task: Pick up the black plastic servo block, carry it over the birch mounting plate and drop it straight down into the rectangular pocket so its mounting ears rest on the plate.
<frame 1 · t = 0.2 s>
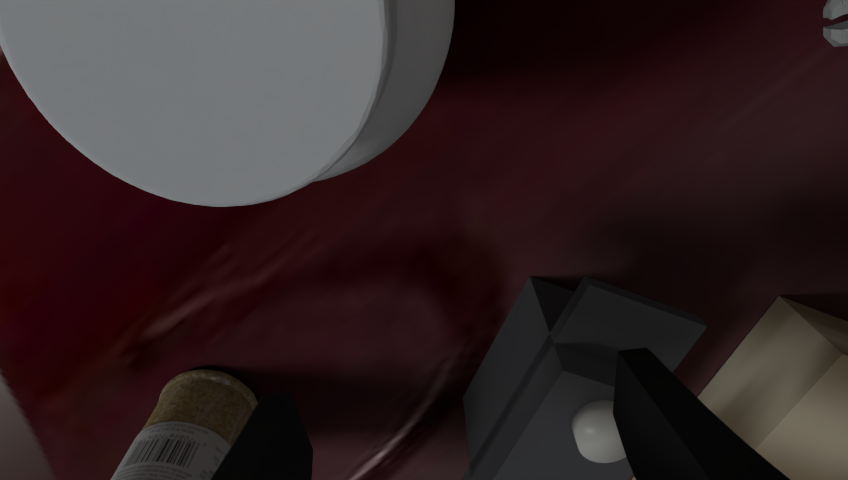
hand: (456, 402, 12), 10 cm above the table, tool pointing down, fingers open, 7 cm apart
sprinkles bottle: (215, 399, 26), on the table
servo: (539, 354, 25), on the table
mounting plate: (844, 454, 27), on the table
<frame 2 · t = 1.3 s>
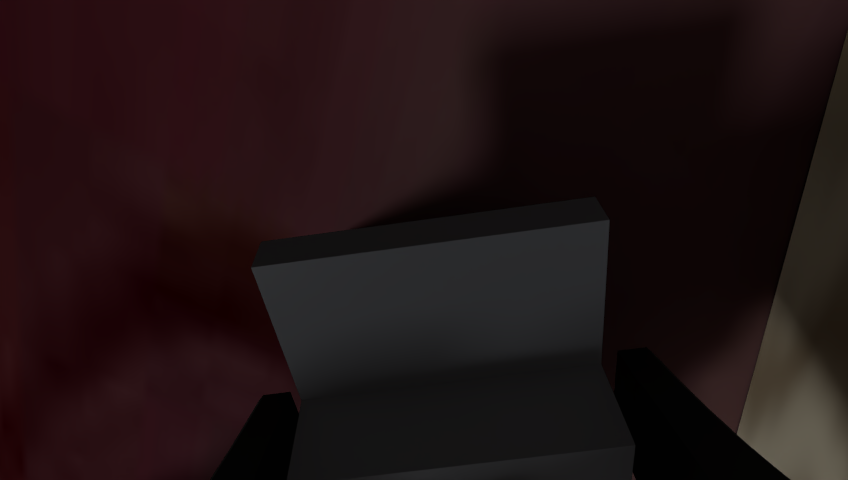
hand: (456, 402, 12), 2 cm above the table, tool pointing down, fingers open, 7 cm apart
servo: (450, 339, 14), on the table
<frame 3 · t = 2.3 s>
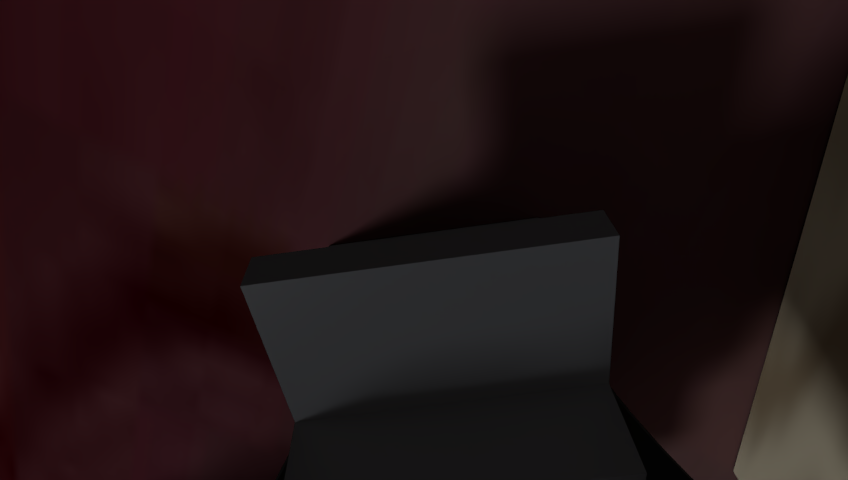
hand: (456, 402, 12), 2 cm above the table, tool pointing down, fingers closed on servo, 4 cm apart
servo: (450, 350, 14), on the table, touching gripper
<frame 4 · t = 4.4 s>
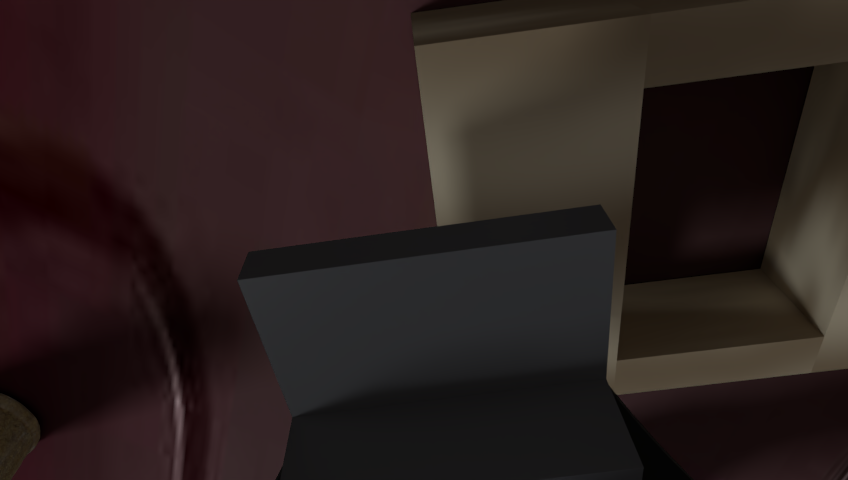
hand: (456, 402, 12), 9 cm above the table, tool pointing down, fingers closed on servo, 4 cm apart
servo: (449, 347, 14), point 7 cm above the table, touching gripper
mounting plate: (688, 172, 19), on the table
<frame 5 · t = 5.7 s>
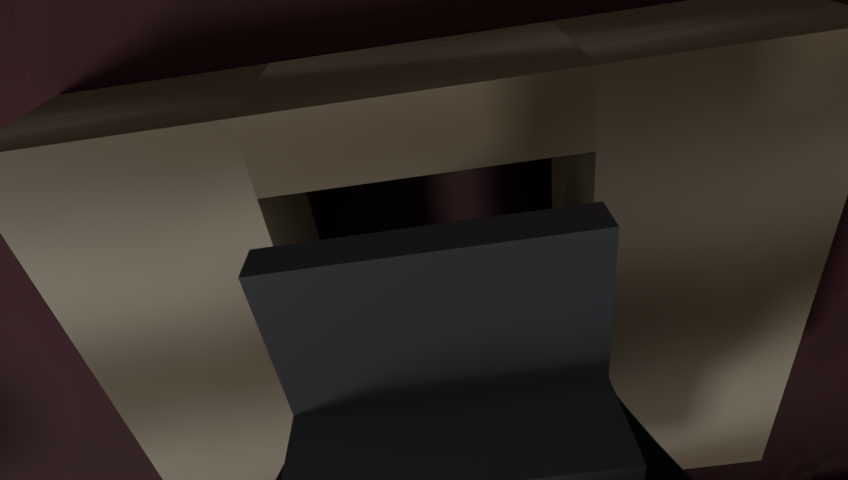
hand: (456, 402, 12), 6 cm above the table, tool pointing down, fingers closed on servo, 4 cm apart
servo: (449, 346, 14), point 4 cm above the table, touching gripper
mounting plate: (439, 256, 17), on the table
when the fingers open (5 cm above the table, at t = 6.8 s): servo drops 3 cm, resting on mounting plate.
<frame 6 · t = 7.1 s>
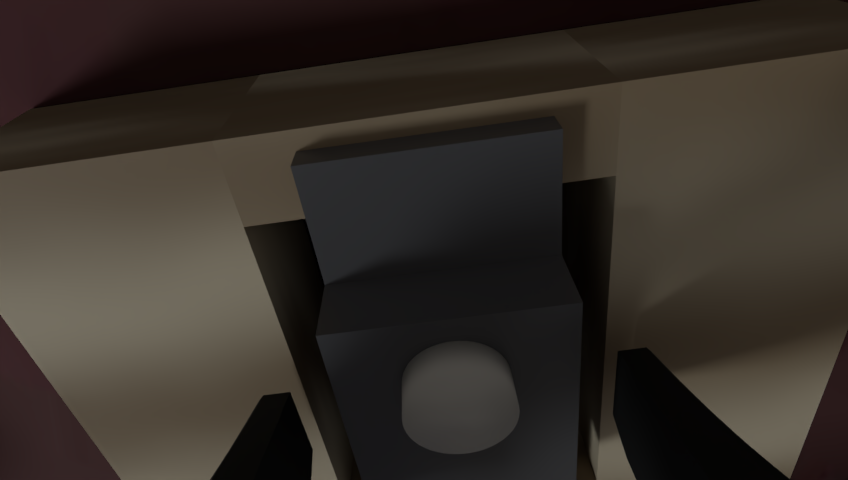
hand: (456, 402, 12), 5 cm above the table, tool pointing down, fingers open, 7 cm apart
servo: (444, 272, 16), resting on mounting plate
mounting plate: (442, 277, 16), on the table
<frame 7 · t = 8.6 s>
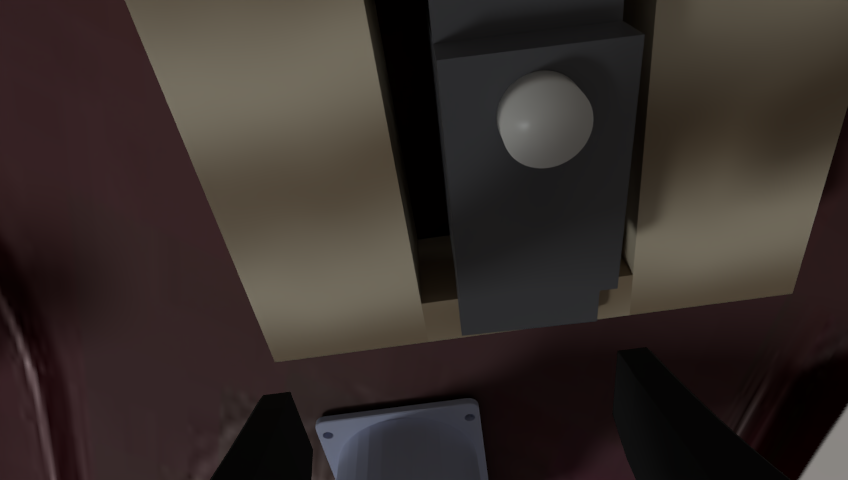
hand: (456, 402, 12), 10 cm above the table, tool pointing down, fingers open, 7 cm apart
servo: (501, 107, 19), resting on mounting plate
mounting plate: (498, 110, 19), on the table
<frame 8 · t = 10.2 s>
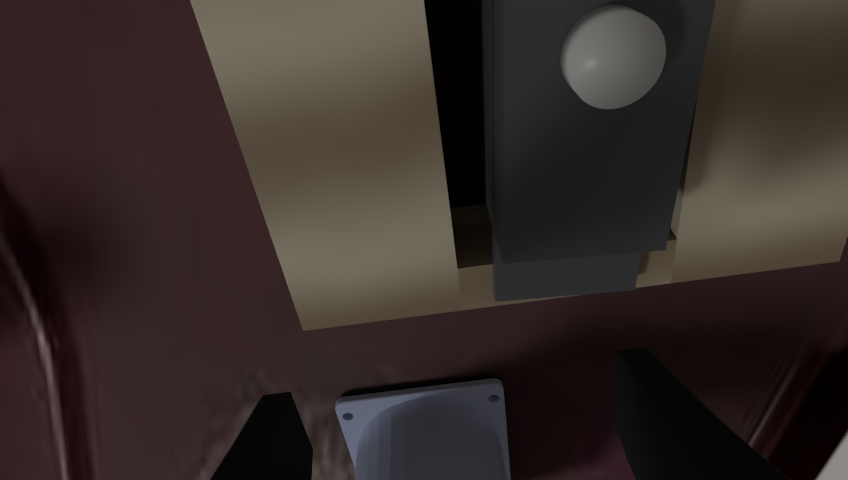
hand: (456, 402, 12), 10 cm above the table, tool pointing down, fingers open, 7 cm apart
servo: (541, 68, 18), resting on mounting plate
mounting plate: (537, 71, 18), on the table
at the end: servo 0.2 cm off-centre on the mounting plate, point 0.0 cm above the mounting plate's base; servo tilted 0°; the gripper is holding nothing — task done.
